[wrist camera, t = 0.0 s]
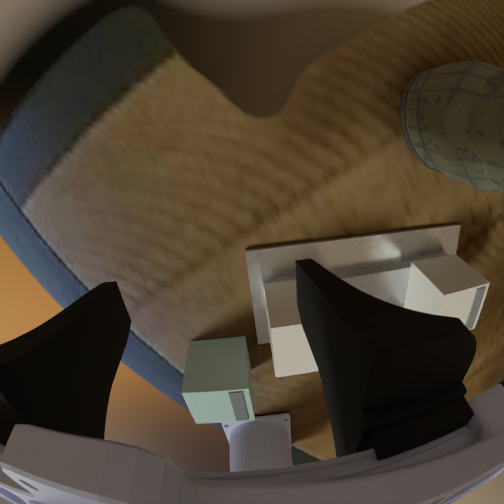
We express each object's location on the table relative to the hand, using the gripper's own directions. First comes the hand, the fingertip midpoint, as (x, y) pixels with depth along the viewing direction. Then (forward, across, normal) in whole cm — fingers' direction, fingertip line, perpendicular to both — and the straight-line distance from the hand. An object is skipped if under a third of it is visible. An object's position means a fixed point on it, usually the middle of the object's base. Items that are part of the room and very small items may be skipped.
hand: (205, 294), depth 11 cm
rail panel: (+10, -11, +7) cm, 17 cm away
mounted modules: (+9, -11, +7) cm, 16 cm away
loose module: (+10, +2, +14) cm, 17 cm away
